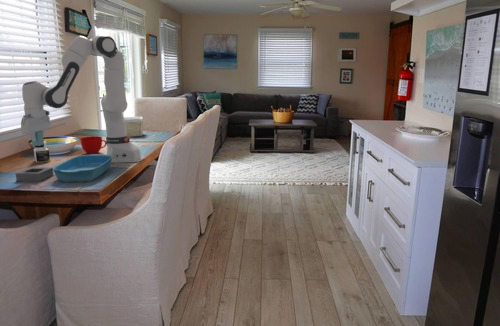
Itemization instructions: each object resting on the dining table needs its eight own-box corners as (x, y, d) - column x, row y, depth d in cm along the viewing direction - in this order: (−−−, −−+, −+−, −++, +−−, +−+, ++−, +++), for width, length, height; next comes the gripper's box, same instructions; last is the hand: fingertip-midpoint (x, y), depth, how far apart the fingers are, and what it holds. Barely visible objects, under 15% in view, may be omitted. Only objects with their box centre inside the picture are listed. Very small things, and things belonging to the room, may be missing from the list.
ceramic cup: (101, 156, 254) (100, 140, 251) (77, 154, 257) (76, 139, 254) (112, 151, 266) (111, 136, 264) (89, 150, 269) (87, 136, 267)
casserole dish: (92, 184, 192) (91, 170, 191) (46, 184, 193) (44, 170, 191) (118, 166, 228) (117, 153, 226) (79, 166, 228) (78, 154, 227)
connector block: (44, 144, 213) (42, 131, 212) (39, 145, 210) (38, 132, 208) (36, 144, 214) (35, 131, 212) (32, 145, 210) (30, 132, 208)
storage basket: (112, 138, 318) (110, 119, 315) (114, 134, 334) (113, 116, 330) (143, 136, 323) (142, 118, 319) (144, 133, 338) (143, 116, 335)
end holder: (53, 175, 209) (52, 167, 208) (40, 181, 197) (39, 173, 196) (31, 174, 210) (30, 167, 209) (16, 181, 198) (15, 173, 197)
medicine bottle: (37, 163, 236) (34, 142, 233) (34, 160, 241) (32, 141, 238) (50, 161, 240) (47, 141, 237) (48, 159, 245) (45, 139, 243)
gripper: (28, 115, 198) (31, 143, 201) (51, 111, 217) (54, 136, 221) (15, 115, 198) (19, 143, 201) (40, 111, 218) (43, 136, 221)
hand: (37, 139), depth 211 cm, fingers closed on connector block, 4 cm apart
